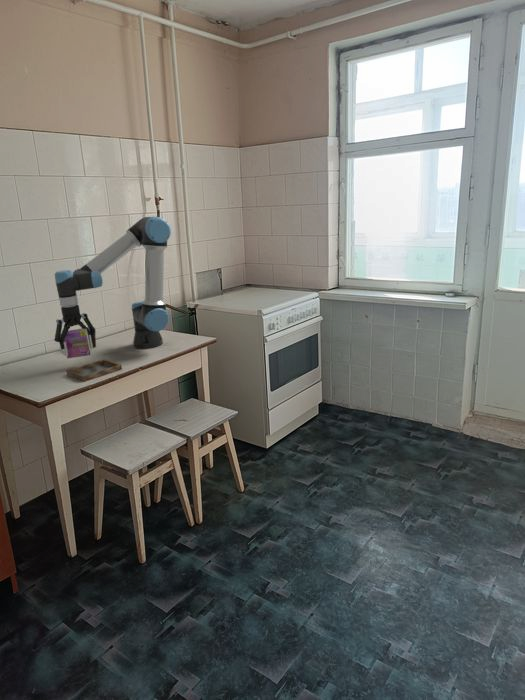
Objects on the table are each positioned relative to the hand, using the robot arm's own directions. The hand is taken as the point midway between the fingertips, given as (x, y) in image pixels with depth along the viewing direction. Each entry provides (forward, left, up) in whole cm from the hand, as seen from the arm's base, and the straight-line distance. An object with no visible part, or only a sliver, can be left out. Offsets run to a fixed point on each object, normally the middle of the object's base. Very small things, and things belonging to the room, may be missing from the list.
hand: (78, 351), depth 228 cm
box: (0, 0, -2) cm, 2 cm away
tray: (+1, +14, -7) cm, 16 cm away
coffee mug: (-21, -28, -7) cm, 35 cm away
